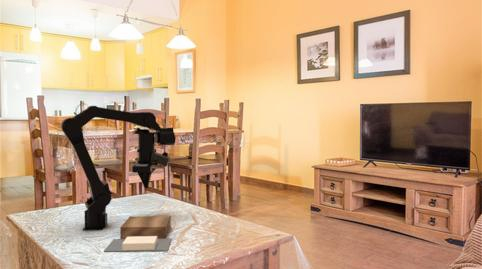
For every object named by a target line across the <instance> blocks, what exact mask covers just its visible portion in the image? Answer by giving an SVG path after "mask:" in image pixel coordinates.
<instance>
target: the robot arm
mask: <svg viewBox="0 0 482 269" xmlns="http://www.w3.org/2000/svg"><path fill="white" fill-rule="evenodd" d="M95 118H98V119H104V120H105V119H106V120H111V121H119V122H124V123H125V122H126V123H128V124H132V125H135V126H138V127H136V128H135V129H134V130H133V131H132V134H134V135H137V136H138V139H137V142H138V144H137V145H138V148H137V149H136V153H138V158H137V159H138V160H136V162H137V163H134V165H133V166H132V169H131V172H132V173H137V175H138V176H139V179H140V180H141V184H142V185H143V187H144V189H149V187H150V182H151V178H152V174H153V173H154V171H156V170H157V168H156V167H159V165H161V166H163V167H168V166H169V162H170V159H171V157H170V156H169V153H168V152H167V151H163V152H162V153H160V152H157V149H156V148H155V143H156V144H157V146H161V147H163V146H165V147H166V146H175V144H176V137H177V136H176V134H175V131H174V127H161V126H160V124H159V123H158V122H157V118H156V115H155V113H153V112H150V111H135V112H134V111H132V112H131V111H126V110H121V109H120V110H119V109H113V108H106V107H100V106H97V105H90V106H89V105H88V106H87V107H86V109H84V110H83V111H81V112H79V113H78V114H76V115H75V116H73V117H67V118H64V119H63V120H62V121H61V123H60V129H61V131H62V133H63V134H64V136H65V137H66V138H67V140H68V142H69V143H70V144H71V146H72V148H73V150H74V152H75V155H76V157H77V159H78V161H79V163H80V166H81V168H82V172H83V173H84V175H85V178H86V181H88V182H87V183H88V188H89V194H90V197H89V198H88V199H87V200H86V201H85V202H84V205H85V208H86V209H85V210H84V227H83V228H82V231H103V230H104V229H105V228H106V227H107V226H108V213H107V209H106V208H107V206H109V205H110V203H111V201H112V199H113V198H112V195H113V193H112V191H111V190H110V187H109V183H108V182H107V181H106V180H103V181H102V180H101V178H100V176H99V174H98V171H97V169H96V167H95V165H94V162H93V159H92V157H91V155H90V153H89V150H88V147H87V146H86V143H85V139H84V133H83V132H84V131H83V127H84V126H85V125H86V124H88V123H89V122H90V121H92V120H93V119H95ZM140 127H141V128H143V129H141V128H140ZM144 128H146V129H144ZM150 130H151V131H150ZM153 166H156V167H153Z"/></svg>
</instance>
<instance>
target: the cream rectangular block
mask: <svg viewBox="0 0 482 269" xmlns="http://www.w3.org/2000/svg"><path fill="white" fill-rule="evenodd" d="M156 245H157V236H135V237H127V238H126V239H125V241H124V242H123V243H122V251H126V250H155V247H156Z"/></svg>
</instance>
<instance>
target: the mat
mask: <svg viewBox="0 0 482 269" xmlns="http://www.w3.org/2000/svg"><path fill="white" fill-rule="evenodd" d="M172 240H173V238H169V237H168V238H167V237H166V238H157V245H156V247H155V250H126V251H122V243H123V242H124V241H125V239H120V238H114V239H113V240H112V241H110V242H109V244H108V245H107V247H106V248H105V249H104V250H103V253H122V252H123V253H131V252H133V253H134V252H135V253H137V252H138V253H139V252H140V253H141V252H168V250H169V249H170V246H171V242H173V241H172Z"/></svg>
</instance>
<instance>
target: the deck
mask: <svg viewBox="0 0 482 269" xmlns="http://www.w3.org/2000/svg"><path fill="white" fill-rule="evenodd" d="M171 221H172V218H171V216H170V215H166V216H165V215H163V216H162V215H161V216H160V215H159V216H158V215H156V216H155V215H153V216H151V215H150V216H149V215H145V216H143V215H142V216H141V215H139V216H131V215H130V216H129V217H128V218H127V219H126V220H125V221H124V223H123V224H122V225H121V226H120V228H119V229H120V231H119V232H120V235H119V237H120V238H119V239H126V238H127V237H135V236H157V238H167V237H168V235H169V233H170V230H171V227H172V226H171V225H172V223H171Z"/></svg>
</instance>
